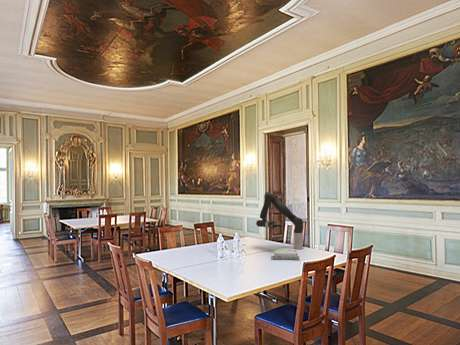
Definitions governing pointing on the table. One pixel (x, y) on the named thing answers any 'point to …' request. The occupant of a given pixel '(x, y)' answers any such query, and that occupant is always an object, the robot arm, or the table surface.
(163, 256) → the table surface
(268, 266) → the table surface
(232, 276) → the table surface
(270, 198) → the robot arm
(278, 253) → the snack box
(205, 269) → the table surface
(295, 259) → the mat
